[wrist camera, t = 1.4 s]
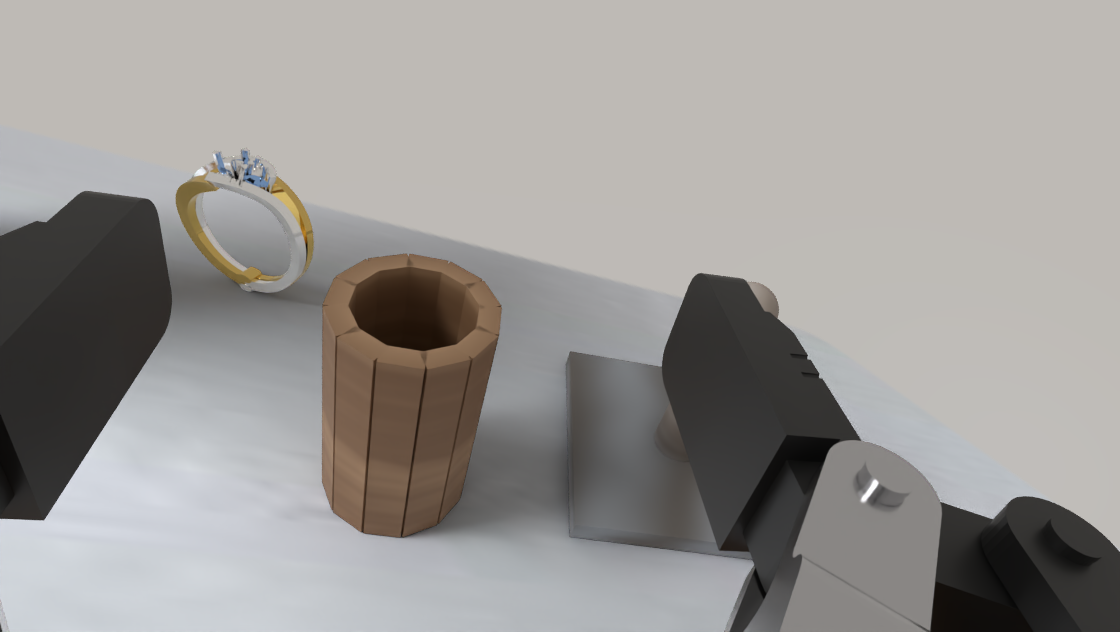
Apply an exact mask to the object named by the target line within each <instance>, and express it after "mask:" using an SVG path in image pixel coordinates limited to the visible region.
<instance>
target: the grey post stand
mask: <svg viewBox="0 0 1120 632" xmlns="http://www.w3.org/2000/svg"><path fill="white" fill-rule="evenodd" d="M747 283H748V284H749V286H750V288H751V289H752V291H753V293H754V294H755V296H756V298H757V299H758V301H759V303H760V304H761V306H762V308H763V309H764V311H765V312H771V313H772V314H773V315H774V316H775V317H776V318H778V313H779V306H778V302H777V299H776V297H775V295H774V294H773V293H772V291H770V289H768V288H767V287H766V286H764V285H762V284H760V283H756V282H747ZM566 388H567V436H568V484H569V532H570V537H575V538H583V539H591V540H599V541H608V542H616V543H624V544H632V545H640V546H648V547H656V548H664V549H672V550H680V551H688V552H696V553H704V554H712V555H720V556H728V557H736V558H744V559H752V557H751V554H750V552H739V551H719V550H718V547H717V544H716V540H715V537H714V534H713V531H712V528H711V525H710V522H709V519H708V516H707V513H706V510H705V507H704V504H703V501H702V498H701V495H700V492H699V489H698V486H697V483H696V480H695V477H694V474H693V471H692V468H691V465H690V462H689V459H688V456H687V453H686V450H685V447H684V444H683V441H682V438H681V435H680V432H679V428H678V425H677V422H676V419H675V416H674V413H673V410H672V407H671V404H670V401H669V398H668V395H667V392H666V389H665V386H664V383H663V377H662V367H659V366H653V365H647V364H641V363H635V362H629V361H623V360H618V359H612V358H606V357H600V356H594V355H588V354H582V353H576V352H570V354H569V356H568V359H567V362H566Z"/></svg>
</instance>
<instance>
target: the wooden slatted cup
mask: <svg viewBox="0 0 1120 632" xmlns="http://www.w3.org/2000/svg"><path fill="white" fill-rule="evenodd" d="M501 310H502V307H501V305H500V303H499V302H498V300H497V299H496V297H495V296H494V295H493V293H492V292H491V290H490V289H489V287H488V286H487V284H486V283H485V282H484V281H482V279H481V278H479V277H477V276H475V275H474V274H472V273H470V272H468V271H466V270H465V269H463V268H461V267H459V266H457V265H456V264H454V263H452V262H450V263H448V261H446V260H441V259H435V258H430V257H425V256H419V255H414V254H409V257H408V255H407V254H399V255H391V256H383V257H375V258H368V260H366V259H365V260H363V261H362V262H360V263H358V264H356V265H355V266H353V267H351V268H349V269H348V270H346V271H344V272H342V273H341V274H339V275H337V276H336V278H334V280H333V282H332V284H331V286H330V289H329V291H328V293H327V295H326V298H325V300H324V302H323V332H322V483H323V486H324V489H325V492H326V495H327V498H328V500H329V503H330V506H331V509H332V510H333V512H334V513H335V514H336V515H338V516H339V517H341V518H342V519H343V520H345V521H346V522H347V523H349V524H350V525H352V526H353V527H354V528H356V529H357V530H359V531H360V532H362V531H363V530H364V531H363V533H366V534H375V535H383V536H391V537H400V536H401V534H402V536H403V537H405V536H408V535H410V534H413V533H416V532H419V531H422V530H424V529H427V528H430V527H433V526H435V525H437V523H438V524H439V523H440V522H441V521H442V519H443V518H444V517H445V516H446V515H447V514H448V513H449V511H450V510H451V509H452V508H453V507H454V506H455V505H456V503H457V502H458V501H459V500H460V498H461V494H462V489H463V485H464V481H465V477H466V472H467V468H468V464H469V460H470V455H471V451H472V447H473V443H474V439H475V434H476V430H477V426H478V422H479V417H480V413H481V409H482V405H483V400H484V396H485V392H486V388H487V383H488V379H489V375H490V371H491V367H492V362H493V358H494V354H495V350H496V345H497V341H498V337H499V330H500V320H501Z"/></svg>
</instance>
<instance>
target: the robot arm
mask: <svg viewBox="0 0 1120 632" xmlns="http://www.w3.org/2000/svg"><path fill="white" fill-rule="evenodd" d="M171 305H172V295H171V287H170V282H169V276H168V270H167V264H166V258H165V252H164V246H163V240H162V234H161V228H160V223H159V217H158V213H157V210H156V208H155V206H154V204H153V203H152V202H151V201H150V200H149V199H145V198H137V197H129V196H122V195H114V194H107V193H99V192H92V191H84V192H81V193H80V194H78V195H77V196H76V197H75V198H74V199H73V200H71V201H70V202H69V203H68V204H67V205H66V206H65V207H63V208H62V209H61V210H60V211H59V212H58V213H57V214H55V215H54V216H53V217H52V218H51V219H50V220H49V221H47V222H39V221H36V222H33V223H31V224H29V225H26V226H24V227H21V228H19V229H17V230H14V231H12V232H9V233H7V234H4V235H2V236H0V519H22V520H44V519H45V518H46V516H47V515H48V513H49V512H50V510H51V509H52V507H53V506H54V504H55V502H56V501H57V499H58V498H59V496H60V495H61V493H62V492H63V490H64V488H65V487H66V485H67V484H68V482H69V481H70V479H71V478H72V476H73V474H74V473H75V471H76V470H77V468H78V467H79V465H80V464H81V462H82V461H83V459H84V457H85V456H86V454H87V453H88V451H89V450H90V448H91V447H92V445H93V443H94V442H95V440H96V439H97V437H98V436H99V434H100V433H101V431H102V430H103V428H104V426H105V425H106V423H107V422H108V420H109V419H110V417H111V416H112V414H113V412H114V411H115V409H116V408H117V406H118V405H119V403H120V402H121V400H122V398H123V397H124V395H125V394H126V392H127V391H128V389H129V388H130V386H131V385H132V383H133V381H134V380H135V378H136V377H137V375H138V374H139V372H140V371H141V369H142V367H143V366H144V364H145V363H146V361H147V360H148V358H149V357H150V355H151V353H152V352H153V350H154V349H155V347H156V346H157V344H158V343H159V341H160V340H161V338H162V336H163V335H164V333H165V331H166V328H167V326H168V322H169V319H170V313H171ZM807 356H808V355H807V353H806V352H805V350H804V349H803V347H802V345H801V344H800V342H799V341H798V339H797V337H796V336H795V334H794V333H793V332H792V331H791V330H790V329H789V328H788V327H786V326H785V325H784V324H783V323H782V322H781V321H780V320H778V319H777V318H776V317H775V316H774V315H773V314H772V313H771V312H765V311H764V309H763V308H762V306H761V304H760V303H759V301H758V299H757V298H756V296H755V294H754V293H753V291H752V289H751V288H750V286H749V284H748V283H747V282H746V281H745V280H744V279H740V278H733V277H726V276H718V275H711V274H703V273H700V274H697V275H696V276H695V277H694V278H693V279H692V281H691V283H690V285H689V287H688V290H687V292H686V295H685V297H684V300H683V302H682V305H681V307H680V310H679V313H678V315H677V318H676V320H675V323H674V326H673V328H672V331H671V333H670V336H669V339H668V341H667V344H666V347H665V350H664V354H663V361H662V377H663V383H664V386H665V389H666V392H667V395H668V398H669V401H670V404H671V407H672V410H673V413H674V416H675V419H676V422H677V425H678V428H679V432H680V435H681V438H682V441H683V444H684V447H685V450H686V453H687V456H688V459H689V462H690V465H691V468H692V471H693V474H694V477H695V480H696V483H697V486H698V489H699V492H700V495H701V498H702V501H703V504H704V507H705V510H706V513H707V516H708V519H709V522H710V525H711V528H712V531H713V534H714V537H715V540H716V544H717V547H718V550H719V551H739V552H750V554H751V557H752V559H753V562H754V566H753V568H752V569H751V571H750V572H749V574H748V576H747V578H746V579H745V582H744V584H743V587H742V589H741V591H740V594H739V596H738V599H737V601H736V603H735V606H734V608H733V611H732V613H731V616H730V618H729V620H728V623H727V625H726V628H725V630H724V632H1120V552H1119V551H1118V549H1117V548H1116V547H1115V546H1114V545H1113V544H1112V543H1111V542H1110V541H1109V540H1108V539H1107V538H1106V537H1105V536H1104V535H1103V534H1102V533H1101V532H1099V531H1098V530H1097V529H1096V528H1095V527H1093V526H1092V525H1091V524H1089V523H1088V522H1086V521H1085V520H1084V519H1082V518H1081V517H1079V516H1078V515H1076V514H1074V513H1073V512H1071V511H1069V510H1067V509H1065V508H1063V507H1061V506H1059V505H1057V504H1055V503H1052V502H1050V501H1047V500H1043V499H1040V498H1035V497H1026V496H1023V497H1017V498H1015V499H1012V500H1011V501H1010V502H1009V503H1008V504H1007V505H1006V506H1005V507H1004V508H1003V509H1002V510H1001V512H1000V513H999V514H998V515H997V516H996V517H995V518H994V519H990V518H987V517H984V516H981V515H978V514H975V513H972V512H969V511H966V510H963V509H960V508H957V507H954V506H951V505H948V504H945V503H942V502H940V500H939V498H938V496H937V494H936V492H935V490H934V489H933V487H932V485H931V484H930V483H929V482H928V480H927V479H926V478H925V477H924V476H923V475H922V474H921V473H920V472H919V471H918V470H917V469H916V468H915V467H914V466H912V465H911V464H910V463H909V462H907V461H906V460H904V459H903V458H902V457H900V456H898V455H897V454H895V453H893V452H891V451H890V450H887V449H885V448H883V447H881V446H878V445H875V444H872V443H868V442H864V441H861V439H860V438H859V436H858V435H857V433H856V431H855V430H854V428H853V427H852V425H851V423H850V422H849V420H848V419H847V417H846V416H845V414H844V412H843V411H842V409H841V408H840V406H839V404H838V403H837V401H836V400H835V398H834V396H833V395H832V393H831V392H830V390H829V388H828V387H827V385H826V384H825V382H824V380H823V379H820V378H819V372H818V371H817V369H816V368H815V366H814V364H813V363H812V361H811V360H807ZM0 632H9V628H8V625H7V621H6V618H5V614H4V611H3V607H2V603H1V600H0Z"/></svg>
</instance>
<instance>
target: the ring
mask: <svg viewBox="0 0 1120 632" xmlns="http://www.w3.org/2000/svg"><path fill="white" fill-rule="evenodd" d="M213 157H214V160H215V161H213V162H211V163H209V164H207V165H205V166H203V167H202V168H200V169H199V170H198V171H197V172H196V173H195V174H194V175H193V177H192V178H191V179H189V180H188V181H187V182H185V183H184V184H182V185H181V186H180V187H179V188H178V190H177V192H176V206H177V210H178V213H179V216H180V219H181V221H182V223H183V225H184V227H185V229H186V231H187V233H188V234H189V236H190V238H191V239H192V241H193V242H194V243H195V245H196V246H197V248H198V249H199V250H200V251H201V253H202V254H203V255H204V256H205V257H206V258H207V259H208V260H209V261H210V262H211V263H212V264H213V265H214V266H215V267H216V268H217V269H218V270H220V271H221V272H222V273H223V274H225V275H226V276H227V277H229V278H230V279H232V280H234V281H235V282H237V283H239V286H240V287H241V288H242V289H244V290H245V291H248V292H251V291H253V290H255V291H259V292H266V293H273V292H278V291H281V290H283V289H285V288H287V287H288V286H290V285H292V284H293V283H294V282H296V281H297V280H298V279H300V278H301V277H302V276H303V275H304V273H305V272H306V270H307V269H308V267H309V265H310V262H311V259H312V254H313V246H314V240H313V231H312V226H311V223H310V220H309V217H308V214H307V212H306V210H305V208H304V206H303V205H302V203H301V201H300V200H299V198H298V197H297V196H296V195H295V193H294V192H293V191H292V190H291V189H290V188H289V186H288V185H286V184H285V183H284V182H283V181H282V180H281V179H280V178H278V177H277V176H276V169H275V167H274V166H273V165H272V164H271V163H270V162H269V161H267V160H265V159H263V158H261V157H260V156H250V150H249V149H248V148H243V149H241V155H240V156H231V157H225V158H223V156H222V153H221V151H214V152H213ZM217 172H219V174H218V173H217ZM219 188H221V189H225V190H228V191H232V192H235V193H238V194H240V195H243V196H246V197H248V198H250V199H252V200H254V201H256V202H258V203H260V204H261V205H263V206H264V207H265V208H267V209H268V210H269V211H270V212H271V213H272V214H273V215H274V216H275V217H276V218H277V220H278V221H279V223H280V224H281V226H282V228H283V230H284V232H285V234H286V236H287V239H288V242H289V246H290V251H291V261H290V266H289V269H288V271H287V272H286V274H284V275H280V276H267V275H262V273H261V271H259V270H258V269H256V268H254V267H249V268H246V267H244V266H243V265H241V264H240V263H238V262H237V261H236V260H234V259H233V258H232V257H231V256H230V255H229V254H228V253H227V252H226V251H225V250H224V249H223V248H222V247H221V246H220V244H219V243H218V242H217V240H216V239H215V237H214V236H213V234H212V232H211V231H210V229H209V227H208V224H207V222H206V219H205V216H204V211H203V196H204V192H209V191H217V190H218V189H219Z"/></svg>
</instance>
